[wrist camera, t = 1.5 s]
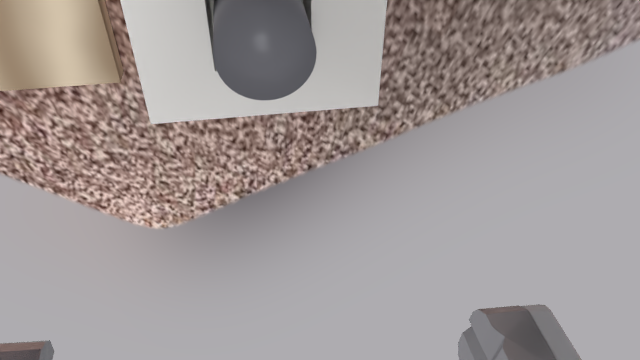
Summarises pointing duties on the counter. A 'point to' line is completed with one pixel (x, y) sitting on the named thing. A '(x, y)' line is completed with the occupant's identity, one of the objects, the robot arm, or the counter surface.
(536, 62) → the counter surface
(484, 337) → the robot arm
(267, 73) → the grey cylinder
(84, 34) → the pad
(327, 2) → the block
